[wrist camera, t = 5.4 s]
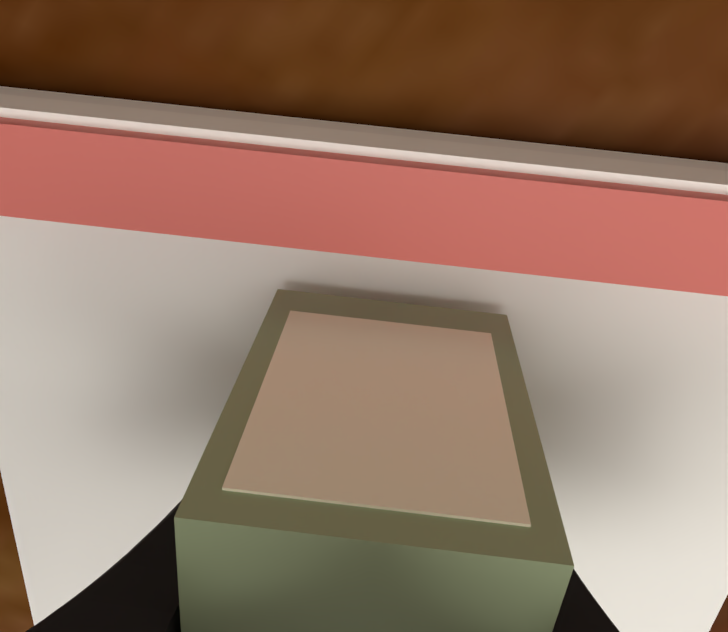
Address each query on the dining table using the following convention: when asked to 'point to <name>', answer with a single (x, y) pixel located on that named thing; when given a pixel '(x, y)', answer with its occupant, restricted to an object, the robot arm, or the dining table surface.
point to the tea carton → (373, 480)
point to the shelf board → (358, 280)
